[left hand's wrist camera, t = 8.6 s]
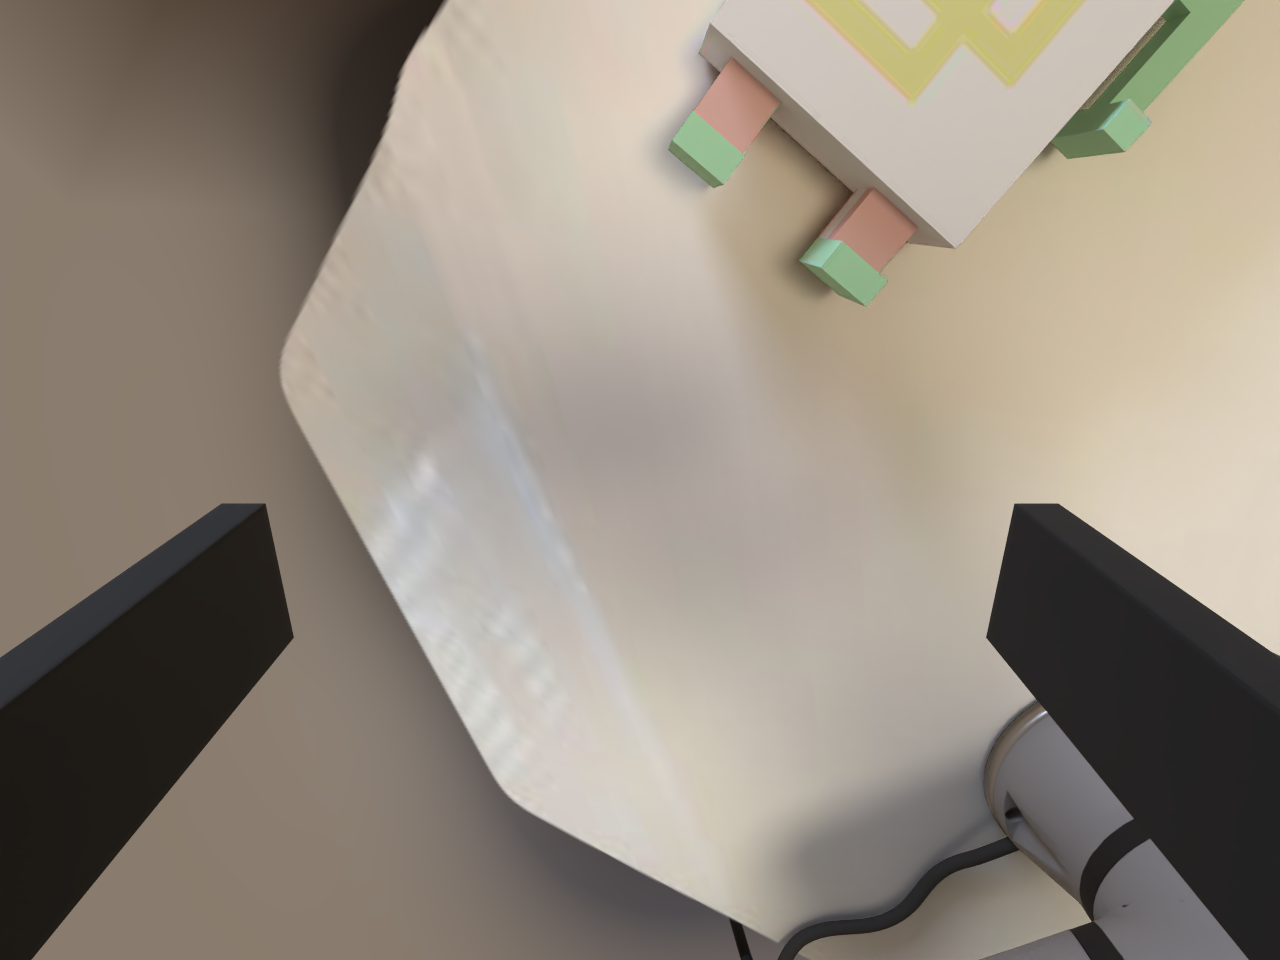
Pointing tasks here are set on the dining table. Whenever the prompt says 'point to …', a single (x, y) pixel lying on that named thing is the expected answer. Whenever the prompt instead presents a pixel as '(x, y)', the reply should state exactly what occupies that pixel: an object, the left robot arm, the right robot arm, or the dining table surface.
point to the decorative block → (930, 103)
